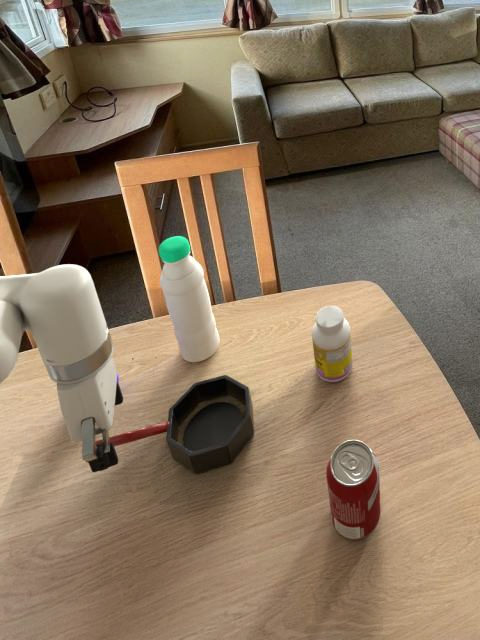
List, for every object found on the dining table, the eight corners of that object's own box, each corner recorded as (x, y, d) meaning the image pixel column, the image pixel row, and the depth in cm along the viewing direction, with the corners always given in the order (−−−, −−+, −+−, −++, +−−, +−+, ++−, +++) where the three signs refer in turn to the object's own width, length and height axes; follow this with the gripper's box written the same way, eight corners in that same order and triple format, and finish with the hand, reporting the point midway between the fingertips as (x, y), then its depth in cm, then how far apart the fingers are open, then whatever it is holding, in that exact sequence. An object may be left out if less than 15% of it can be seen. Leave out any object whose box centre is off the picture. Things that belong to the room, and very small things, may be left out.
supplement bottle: (314, 355, 89) (308, 304, 84) (349, 348, 90) (345, 297, 85) (318, 388, 83) (311, 335, 78) (355, 379, 85) (352, 327, 79)
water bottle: (172, 357, 89) (140, 251, 78) (198, 328, 95) (172, 226, 84) (202, 369, 87) (173, 261, 76) (228, 339, 93) (204, 235, 82)
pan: (86, 508, 67) (76, 489, 65) (104, 426, 78) (96, 407, 76) (255, 456, 73) (251, 437, 71) (251, 386, 84) (247, 367, 82)
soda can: (362, 555, 62) (358, 503, 57) (321, 523, 65) (314, 471, 60) (389, 504, 67) (388, 452, 62) (350, 476, 71) (346, 425, 65)
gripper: (58, 312, 69) (87, 392, 77) (30, 421, 55) (70, 506, 62) (116, 298, 72) (139, 376, 79) (104, 398, 58) (134, 482, 65)
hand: (109, 433), depth 71 cm, fingers open, 9 cm apart
